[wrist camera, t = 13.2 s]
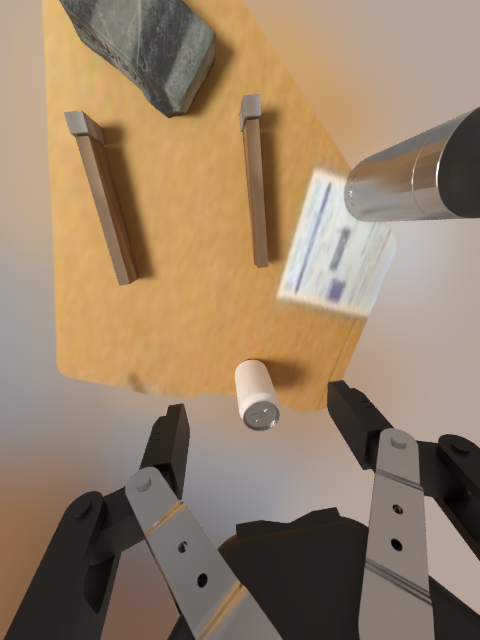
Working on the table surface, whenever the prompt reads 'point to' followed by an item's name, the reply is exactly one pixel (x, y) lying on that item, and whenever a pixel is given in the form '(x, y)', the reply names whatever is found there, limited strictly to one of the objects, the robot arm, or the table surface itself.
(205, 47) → the stone block
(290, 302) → the table surface
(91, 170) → the pair of wooden rails
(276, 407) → the can
